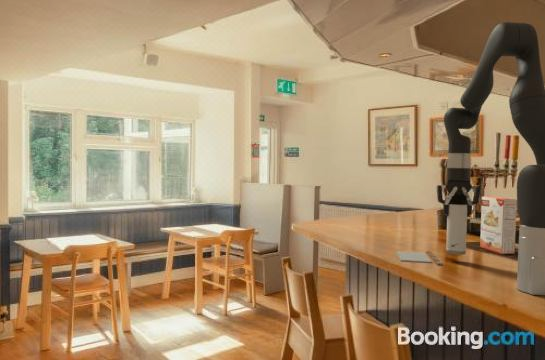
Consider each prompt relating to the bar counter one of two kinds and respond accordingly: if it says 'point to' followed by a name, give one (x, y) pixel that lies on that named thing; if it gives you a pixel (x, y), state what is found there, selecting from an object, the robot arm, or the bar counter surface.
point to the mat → (413, 257)
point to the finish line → (434, 258)
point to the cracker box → (498, 224)
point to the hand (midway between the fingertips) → (457, 216)
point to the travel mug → (457, 225)
